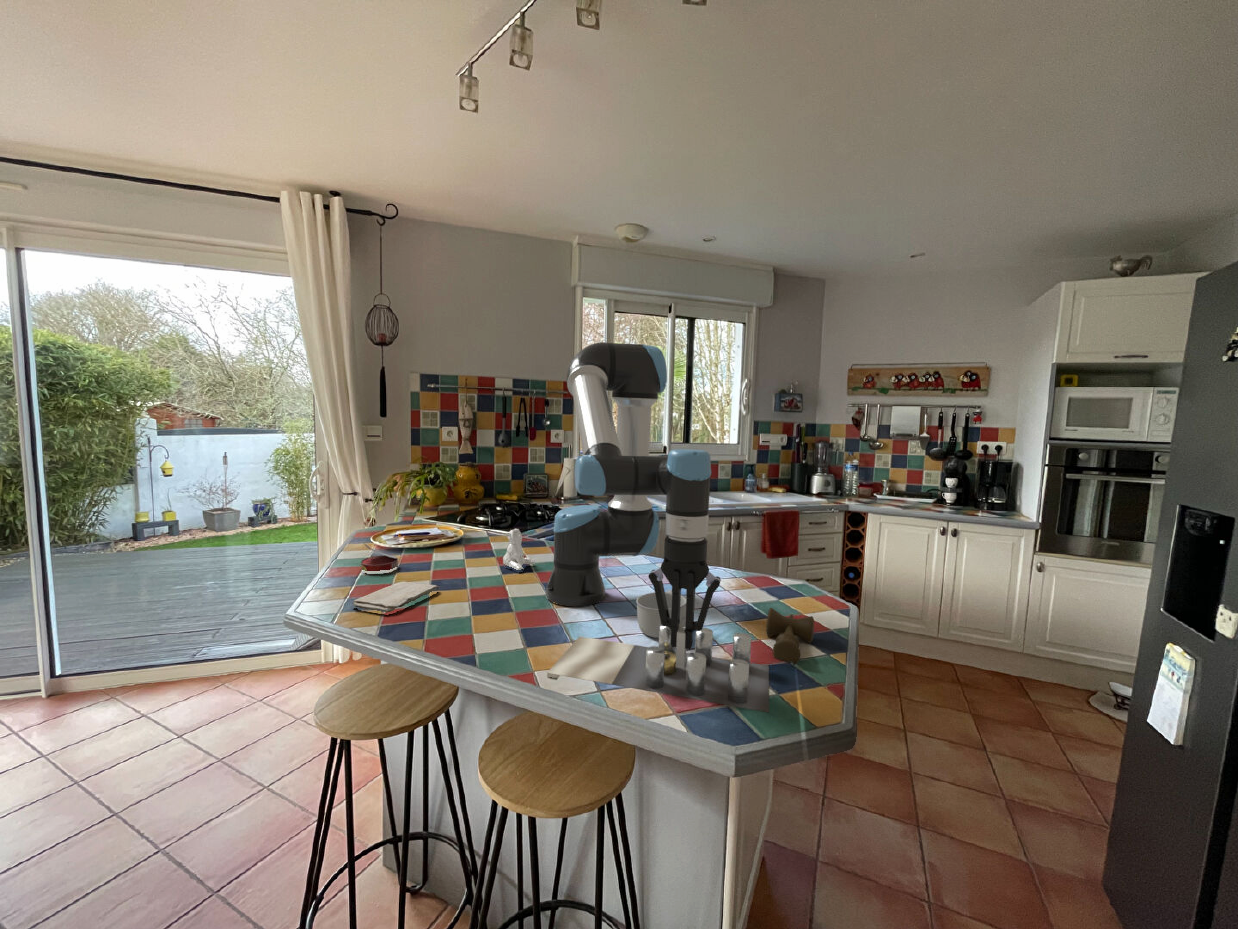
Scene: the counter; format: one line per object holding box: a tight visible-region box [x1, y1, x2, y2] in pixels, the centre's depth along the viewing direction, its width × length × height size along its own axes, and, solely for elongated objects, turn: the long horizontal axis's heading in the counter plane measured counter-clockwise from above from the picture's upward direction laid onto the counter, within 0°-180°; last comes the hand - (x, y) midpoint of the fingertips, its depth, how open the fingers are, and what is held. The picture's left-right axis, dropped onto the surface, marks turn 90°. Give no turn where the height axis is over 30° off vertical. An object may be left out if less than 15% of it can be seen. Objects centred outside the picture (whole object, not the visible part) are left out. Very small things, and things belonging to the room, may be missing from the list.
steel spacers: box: [645, 624, 752, 704], centre depth 91 cm, size 17×14×6 cm
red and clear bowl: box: [360, 542, 399, 571], centre depth 150 cm, size 11×10×10 cm
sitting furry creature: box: [502, 528, 536, 570], centre depth 155 cm, size 10×9×12 cm
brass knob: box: [664, 651, 677, 675], centre depth 93 cm, size 4×4×2 cm
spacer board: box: [546, 636, 770, 713], centre depth 93 cm, size 38×16×1 cm, turn 74°
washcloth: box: [352, 581, 441, 613], centre depth 126 cm, size 12×18×3 cm, turn 163°
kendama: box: [766, 607, 815, 666], centre depth 107 cm, size 6×10×20 cm
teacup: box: [635, 589, 687, 640], centre depth 111 cm, size 14×11×8 cm
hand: (680, 664), depth 92 cm, fingers closed
